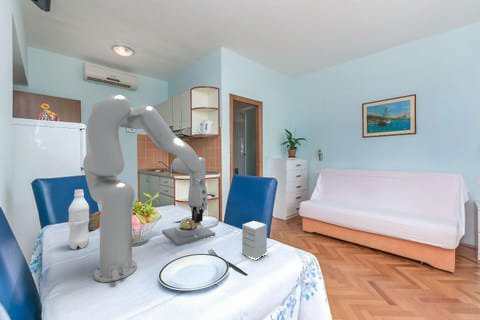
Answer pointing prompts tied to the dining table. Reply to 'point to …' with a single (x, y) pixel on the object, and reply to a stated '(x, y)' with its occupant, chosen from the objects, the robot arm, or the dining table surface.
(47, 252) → the dining table surface
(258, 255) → the supplement box
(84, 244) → the water bottle
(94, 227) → the tin
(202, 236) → the base plate
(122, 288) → the dining table surface
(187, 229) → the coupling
